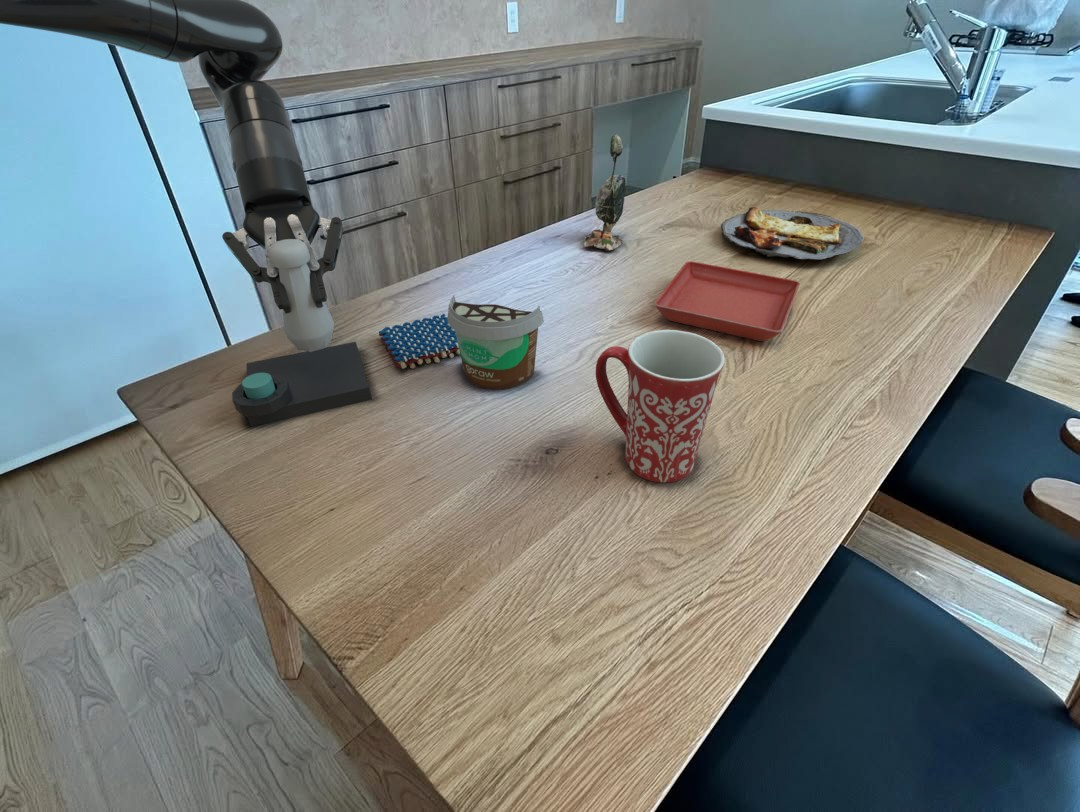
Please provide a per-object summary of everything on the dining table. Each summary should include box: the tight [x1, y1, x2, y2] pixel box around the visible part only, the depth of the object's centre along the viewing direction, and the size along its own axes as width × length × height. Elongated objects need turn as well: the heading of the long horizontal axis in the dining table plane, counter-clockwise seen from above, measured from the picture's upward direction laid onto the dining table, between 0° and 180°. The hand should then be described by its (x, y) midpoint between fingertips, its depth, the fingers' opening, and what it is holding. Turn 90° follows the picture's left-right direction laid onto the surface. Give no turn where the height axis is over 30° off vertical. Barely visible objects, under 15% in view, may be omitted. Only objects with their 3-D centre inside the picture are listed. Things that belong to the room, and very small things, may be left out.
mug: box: [595, 329, 726, 483], centre depth 60 cm, size 13×9×14 cm
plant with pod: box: [583, 133, 628, 252], centre depth 107 cm, size 8×11×20 cm
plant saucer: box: [653, 260, 801, 342], centre depth 89 cm, size 18×18×3 cm
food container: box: [447, 294, 545, 391], centre depth 73 cm, size 12×6×10 cm, turn 73°
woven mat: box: [378, 313, 460, 370], centre depth 82 cm, size 10×11×2 cm
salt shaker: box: [268, 239, 335, 352], centre depth 69 cm, size 6×6×13 cm
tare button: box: [241, 373, 275, 400], centre depth 68 cm, size 3×3×2 cm
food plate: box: [720, 206, 865, 260], centre depth 111 cm, size 25×23×4 cm
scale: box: [231, 341, 373, 427], centre depth 73 cm, size 15×13×4 cm
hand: (303, 307), depth 68 cm, fingers closed on salt shaker, 3 cm apart
